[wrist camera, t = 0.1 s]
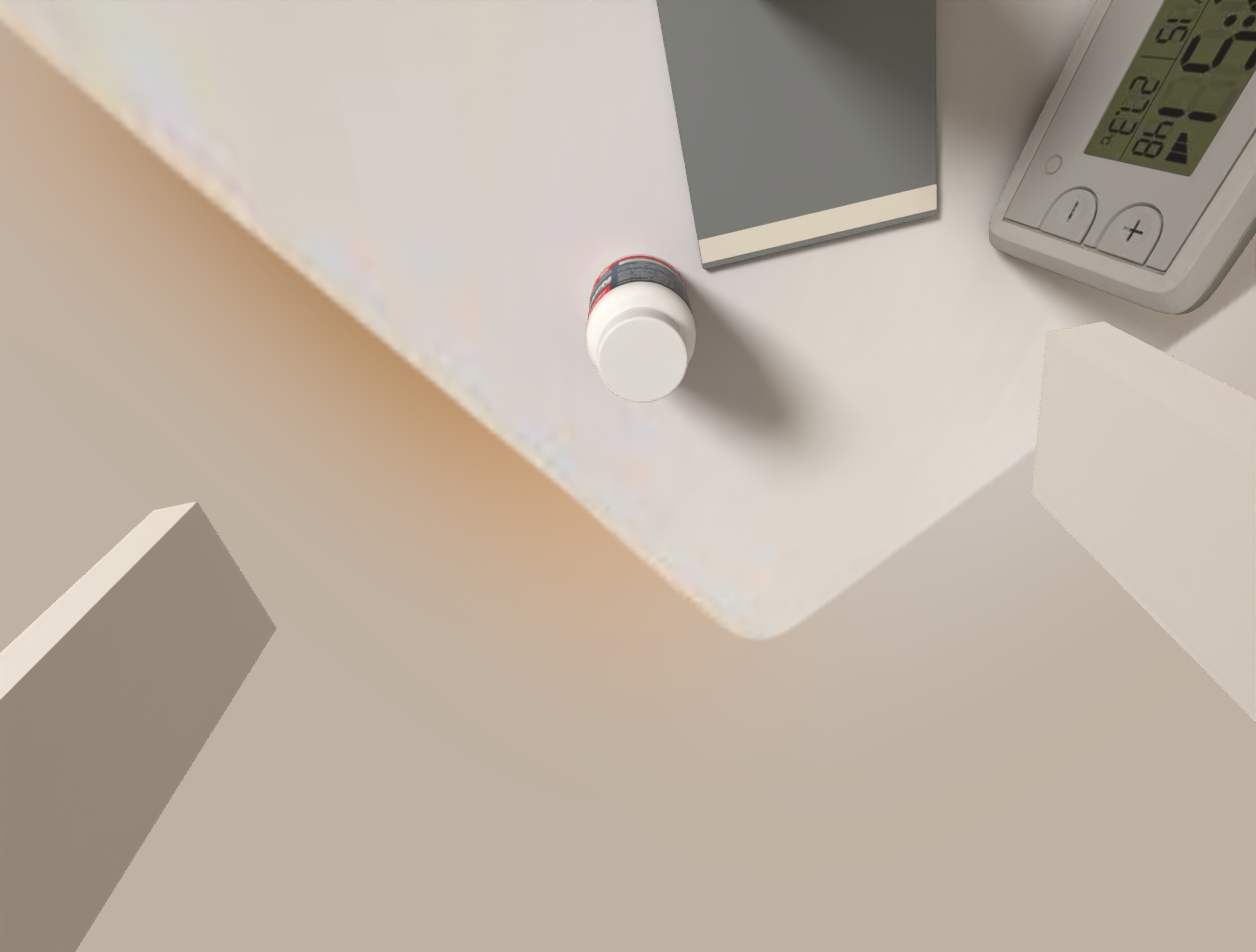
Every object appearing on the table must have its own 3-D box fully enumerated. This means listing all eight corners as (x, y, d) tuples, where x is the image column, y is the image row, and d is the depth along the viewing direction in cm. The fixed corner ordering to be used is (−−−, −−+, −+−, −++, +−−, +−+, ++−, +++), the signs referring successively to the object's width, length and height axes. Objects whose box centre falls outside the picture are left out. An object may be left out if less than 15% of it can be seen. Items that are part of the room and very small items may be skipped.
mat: (631, -144, 28) (631, -147, 28) (930, -233, 27) (934, -237, 27) (702, 267, 37) (703, 269, 36) (933, 213, 35) (936, 215, 35)
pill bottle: (596, 245, 36) (590, 291, 28) (694, 259, 36) (714, 309, 29) (585, 341, 39) (576, 407, 31) (676, 354, 39) (690, 422, 31)
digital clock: (1176, -170, 28) (1447, -290, 19) (1324, -49, 30) (1635, -105, 21) (926, 209, 35) (1033, 256, 26) (1059, 286, 37) (1202, 355, 28)
